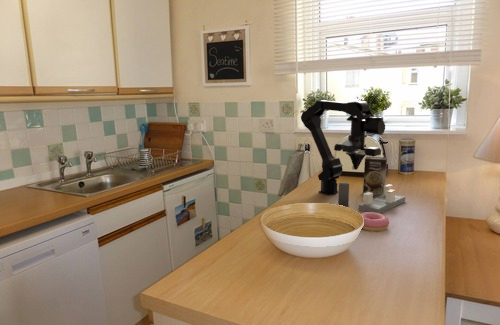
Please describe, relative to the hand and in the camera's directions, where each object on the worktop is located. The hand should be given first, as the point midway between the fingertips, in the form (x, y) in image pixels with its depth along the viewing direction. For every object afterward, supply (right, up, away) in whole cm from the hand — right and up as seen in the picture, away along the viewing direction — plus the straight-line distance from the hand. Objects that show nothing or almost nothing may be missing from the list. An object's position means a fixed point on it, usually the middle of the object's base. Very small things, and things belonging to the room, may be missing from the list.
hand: (355, 169), depth 153 cm
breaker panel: (+9, -14, -7) cm, 18 cm away
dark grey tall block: (-7, -14, -6) cm, 17 cm away
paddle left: (+1, -13, -11) cm, 17 cm away
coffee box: (+11, -11, +10) cm, 18 cm away
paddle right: (+13, -11, 0) cm, 17 cm away
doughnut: (-3, -19, -28) cm, 34 cm away
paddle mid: (+11, -13, -9) cm, 19 cm away
